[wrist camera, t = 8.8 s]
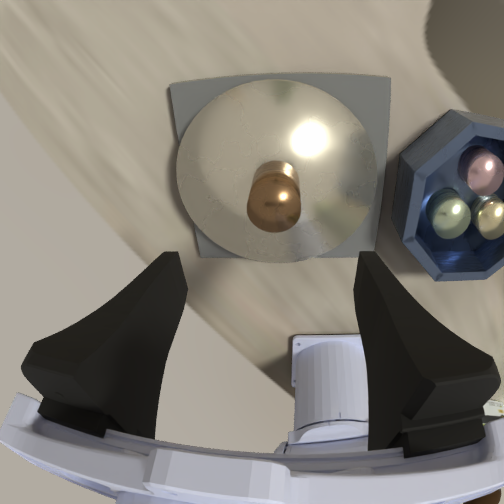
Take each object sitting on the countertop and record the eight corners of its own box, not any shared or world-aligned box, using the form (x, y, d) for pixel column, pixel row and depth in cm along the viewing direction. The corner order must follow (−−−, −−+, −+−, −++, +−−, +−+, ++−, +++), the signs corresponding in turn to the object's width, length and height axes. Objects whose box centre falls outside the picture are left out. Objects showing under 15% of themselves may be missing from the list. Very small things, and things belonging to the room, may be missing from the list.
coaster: (371, 252, 24) (373, 257, 23) (202, 252, 25) (200, 257, 25) (388, 76, 16) (390, 77, 15) (172, 83, 18) (169, 84, 17)
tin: (500, 255, 22) (515, 277, 20) (384, 256, 24) (392, 282, 21) (536, 128, 15) (559, 142, 13) (403, 102, 17) (421, 113, 14)
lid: (364, 252, 23) (376, 295, 19) (198, 254, 25) (184, 296, 21) (376, 78, 16) (401, 91, 12) (165, 90, 17) (135, 105, 14)
